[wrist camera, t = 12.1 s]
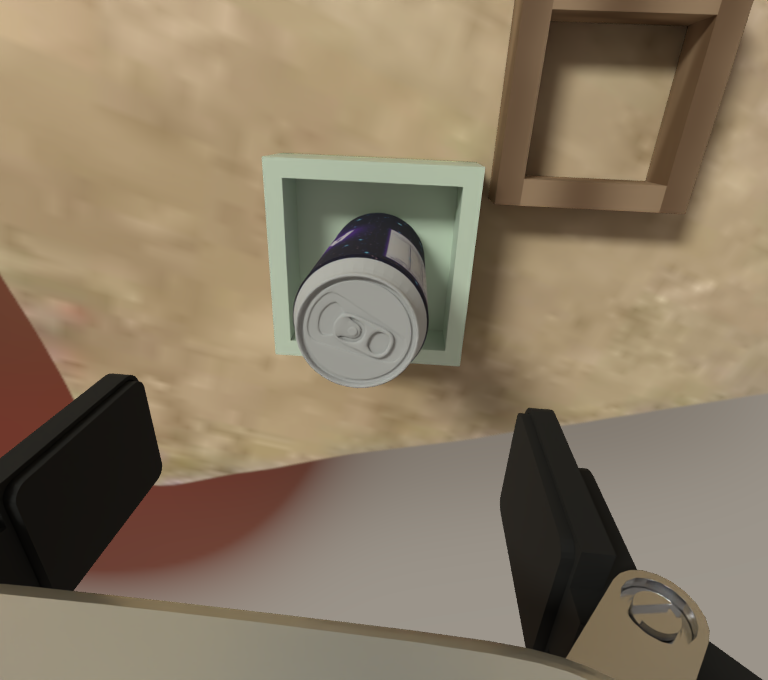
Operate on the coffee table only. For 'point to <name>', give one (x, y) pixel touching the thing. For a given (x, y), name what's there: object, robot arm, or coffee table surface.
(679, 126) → the socket block
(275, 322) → the tray
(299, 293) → the beverage can
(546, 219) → the coffee table surface
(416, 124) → the coffee table surface
